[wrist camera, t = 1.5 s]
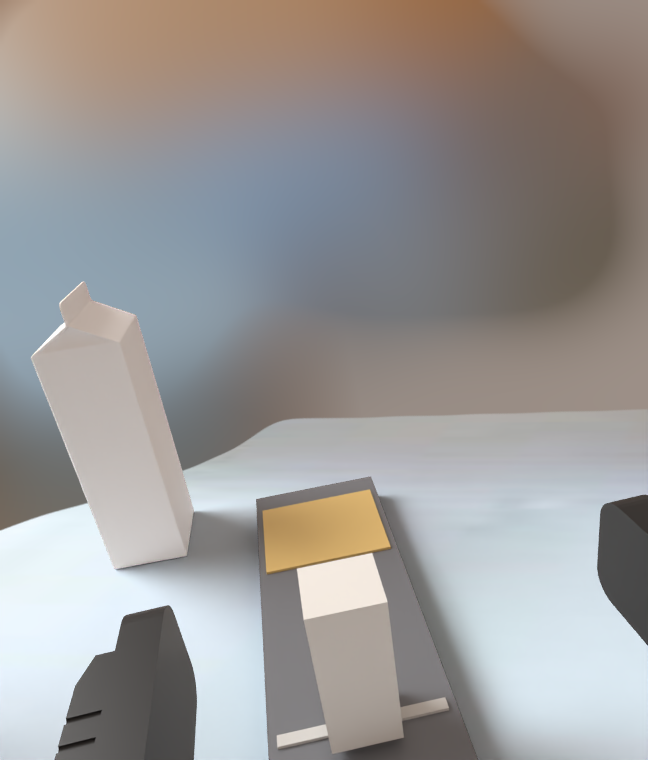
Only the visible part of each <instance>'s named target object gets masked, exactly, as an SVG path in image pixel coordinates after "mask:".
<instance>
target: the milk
mask: <svg viewBox="0 0 648 760" xmlns="http://www.w3.org/2000/svg"><path fill="white" fill-rule="evenodd" d="M59 307H60V311H61V314H62V317H63V319H64V323H63V324H62V325H61V326H60V327H59V328H58V329H57V330H56V331H55V332H54V333H53V334H52V335H51V336H50V337H49V338H48V339H47V340H46V342H45V343H44V344H43V345H42V346H41V347H40V348H39V349H38V350H37V351H36V352H35V353H34V354H33V355H32V356H31V360H32V362H33V365H34V367H35V370H36V372H37V375H38V377H39V380H40V383H41V385H42V388H43V390H44V393H45V395H46V398H47V400H48V403H49V405H50V408H51V410H52V413H53V415H54V418H55V420H56V423H57V425H58V428H59V431H60V433H61V435H62V438H63V441H64V443H65V446H66V448H67V451H68V453H69V456H70V459H71V461H72V463H73V466H74V469H75V471H76V473H77V476H78V478H79V481H80V484H81V486H82V489H83V492H84V494H85V496H86V499H87V502H88V504H89V507H90V509H91V512H92V514H93V517H94V519H95V522H96V524H97V527H98V530H99V532H100V535H101V537H102V540H103V542H104V545H105V547H106V550H107V552H108V555H109V557H110V560H111V562H112V565H113V567H114V569H120V568H125V567H130V566H136V565H141V564H146V563H152V562H157V561H163V560H168V559H173V558H179V557H184V556H187V552H188V546H189V539H190V533H191V526H192V520H193V513H194V509H193V505H192V502H191V499H190V495H189V492H188V488H187V485H186V482H185V478H184V475H183V472H182V469H181V465H180V462H179V458H178V455H177V451H176V448H175V445H174V441H173V438H172V434H171V431H170V428H169V424H168V421H167V417H166V414H165V411H164V408H163V404H162V401H161V397H160V394H159V390H158V387H157V384H156V380H155V377H154V374H153V370H152V367H151V363H150V360H149V357H148V353H147V350H146V347H145V343H144V340H143V336H142V333H141V329H140V326H139V323H138V320H137V316H136V315H134V314H132V313H129V312H126V311H123V310H120V309H117V308H114V307H110V306H107V305H105V304H102V303H99V302H96V301H93V300H91V298H90V295H89V292H88V289H87V286H86V284H85V282H82V283H80V284H79V285H78V286H77V287H76V288H75V289H74V290H73V291H72V292H71V293H70V294H69V295H67V296H66V297H65V298H64V299H63V300H62V301H61V302H60V304H59Z"/></svg>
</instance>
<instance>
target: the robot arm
mask: <svg viewBox="0 0 648 760" xmlns="http://www.w3.org/2000/svg"><path fill="white" fill-rule="evenodd" d="M597 570H598V576H599V579H600V583H601V585H602V588H603V590H604V592H605V594H606V595H607V597H608V599H609V600H610V601H611V603H612V604H613V605H614V606H615V607H616V609H617V610H618V611H619V612H620V613H621V614H622V616H623V617H624V618H625V619H626V620H627V622H628V623H629V624H630V625H631V626H632V627H633V629H634V630H635V631H636V632H637V633H638V634H639V636H640V637H641V638H642V639H643V640H644V642H645V643H646V644H647V645H648V495H640V496H636V497H632V498H628V499H623V500H619V501H615V502H611V503H607V504H605V505H603V507H602V509H601V513H600V529H599V546H598V563H597ZM196 708H197V695H196V683H195V677H194V671H193V667H192V664H191V661H190V658H189V655H188V652H187V650H186V647H185V644H184V641H183V638H182V635H181V632H180V630H179V627H178V624H177V621H176V618H175V615H174V613H173V610H172V608H171V607H170V606H169V605H167V606H163V607H159V608H154V609H150V610H146V611H142V612H137V613H133V614H129V615H126V616H124V618H123V620H122V623H121V627H120V631H119V636H118V640H117V644H116V649H115V651H113V652H109V653H104V654H100V655H96V656H95V657H94V659H93V660H92V662H91V663H90V665H89V666H88V668H87V669H86V671H85V672H84V674H83V675H82V677H81V678H80V680H79V681H78V683H77V684H76V686H75V689H74V692H73V696H72V699H71V703H70V706H69V710H68V713H67V717H66V721H67V723H66V725H64V728H63V731H62V735H61V738H60V742H59V745H58V747H59V752H58V753H57V754H56V756H55V760H194V745H195V726H196Z"/></svg>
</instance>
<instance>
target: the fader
mask: <svg viewBox="0 0 648 760" xmlns="http://www.w3.org/2000/svg"><path fill="white" fill-rule="evenodd" d="M297 574H298V581H299V589H300V596H301V604H302V611H303V619H304V624H305V629H306V633H307V638H308V643H309V648H310V652H311V657H312V662H313V666H314V671H315V676H316V680H317V685H318V690H319V694H320V699H321V704H322V709H323V713H324V718H325V723H326V727H327V732H328V737H329V741H330V746H331V751H332V754H335V753H339V752H344V751H348V750H352V749H357V748H361V747H365V746H370V745H374V744H378V743H383V742H387V741H391V740H396V739H400V738H404V734H403V725H402V717H401V709H400V701H399V692H398V684H397V676H396V667H395V659H394V651H393V642H392V634H391V626H390V618H389V609H388V602H387V598H386V595H385V592H384V589H383V586H382V582H381V579H380V576H379V573H378V570H377V567H376V563H375V560H374V557H373V554H372V553H370V554H365V555H360V556H355V557H350V558H346V559H341V560H336V561H331V562H326V563H321V564H317V565H312V566H307V567H302V568H297Z"/></svg>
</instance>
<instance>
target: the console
mask: <svg viewBox="0 0 648 760" xmlns="http://www.w3.org/2000/svg"><path fill="white" fill-rule="evenodd" d="M256 505H257V526H258V547H259V567H260V588H261V609H262V630H263V651H264V672H265V692H266V713H267V734H268V755H269V760H478V758H477V756H476V753H475V750H474V748H473V745H472V743H471V740H470V737H469V735H468V732H467V729H466V727H465V724H464V721H463V719H462V716H461V713H460V711H459V708H458V706H457V703H456V700H455V698H454V695H453V692H452V690H451V687H450V684H449V682H448V679H447V676H446V674H445V671H444V669H443V666H442V663H441V661H440V658H439V655H438V653H437V650H436V647H435V645H434V642H433V639H432V637H431V634H430V632H429V629H428V626H427V624H426V621H425V618H424V616H423V613H422V610H421V608H420V605H419V603H418V600H417V597H416V595H415V592H414V589H413V587H412V584H411V581H410V579H409V576H408V573H407V571H406V568H405V566H404V563H403V560H402V558H401V555H400V552H399V550H398V547H397V544H396V542H395V539H394V536H393V534H392V531H391V529H390V526H389V523H388V521H387V518H386V515H385V513H384V510H383V507H382V505H381V502H380V499H379V497H378V494H377V492H376V489H375V486H374V484H373V481H372V478H371V477H366V478H361V479H356V480H351V481H346V482H341V483H336V484H330V485H325V486H320V487H315V488H310V489H305V490H300V491H295V492H290V493H285V494H280V495H275V496H270V497H265V498H260V499H256ZM370 553H372V554H373V557H374V560H375V563H376V567H377V570H378V573H379V576H380V579H381V582H382V586H383V589H384V592H385V595H386V598H387V602H388V609H389V618H390V626H391V634H392V642H393V651H394V659H395V667H396V676H397V684H398V692H399V701H400V709H401V717H402V725H403V734H404V738H400V739H396V740H391V741H387V742H383V743H378V744H374V745H370V746H365V747H361V748H357V749H352V750H348V751H344V752H339V753H335V754H332V751H331V746H330V741H329V737H328V732H327V727H326V723H325V718H324V713H323V709H322V704H321V699H320V694H319V690H318V685H317V680H316V676H315V671H314V666H313V662H312V657H311V652H310V648H309V643H308V638H307V633H306V629H305V624H304V619H303V611H302V604H301V596H300V589H299V581H298V574H297V568H302V567H307V566H312V565H317V564H321V563H326V562H331V561H336V560H341V559H346V558H350V557H355V556H360V555H365V554H370Z"/></svg>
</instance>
